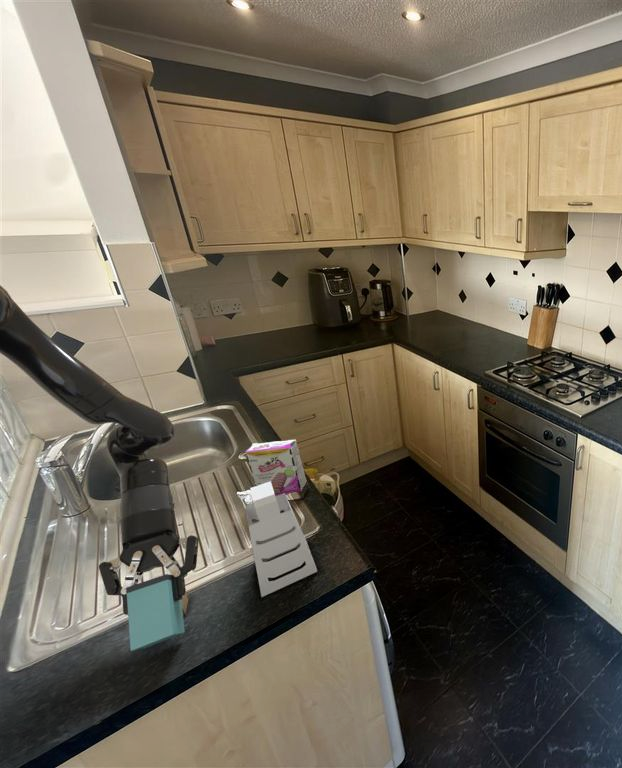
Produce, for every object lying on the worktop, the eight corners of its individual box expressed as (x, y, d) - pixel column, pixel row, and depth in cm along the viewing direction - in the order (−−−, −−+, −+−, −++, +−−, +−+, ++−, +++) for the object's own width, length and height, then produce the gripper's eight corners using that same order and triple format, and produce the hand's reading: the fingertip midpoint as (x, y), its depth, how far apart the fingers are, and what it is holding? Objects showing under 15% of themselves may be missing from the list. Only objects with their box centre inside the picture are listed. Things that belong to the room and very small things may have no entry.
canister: (139, 669, 67) (113, 619, 63) (154, 617, 76) (132, 571, 72) (181, 651, 69) (158, 603, 65) (190, 603, 79) (171, 558, 75)
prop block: (164, 622, 76) (153, 599, 74) (168, 606, 79) (158, 583, 77) (185, 614, 78) (174, 591, 76) (188, 599, 81) (178, 576, 79)
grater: (307, 543, 94) (287, 470, 87) (317, 571, 86) (296, 493, 79) (255, 565, 89) (229, 488, 82) (261, 597, 81) (232, 515, 74)
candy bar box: (260, 505, 109) (243, 452, 103) (267, 494, 113) (251, 442, 107) (304, 499, 110) (290, 447, 104) (309, 489, 115) (296, 438, 109)
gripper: (86, 524, 70) (89, 628, 64) (188, 497, 77) (199, 589, 71) (107, 531, 76) (112, 626, 71) (200, 505, 83) (211, 590, 77)
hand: (156, 607), depth 71 cm, fingers closed on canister, 5 cm apart
